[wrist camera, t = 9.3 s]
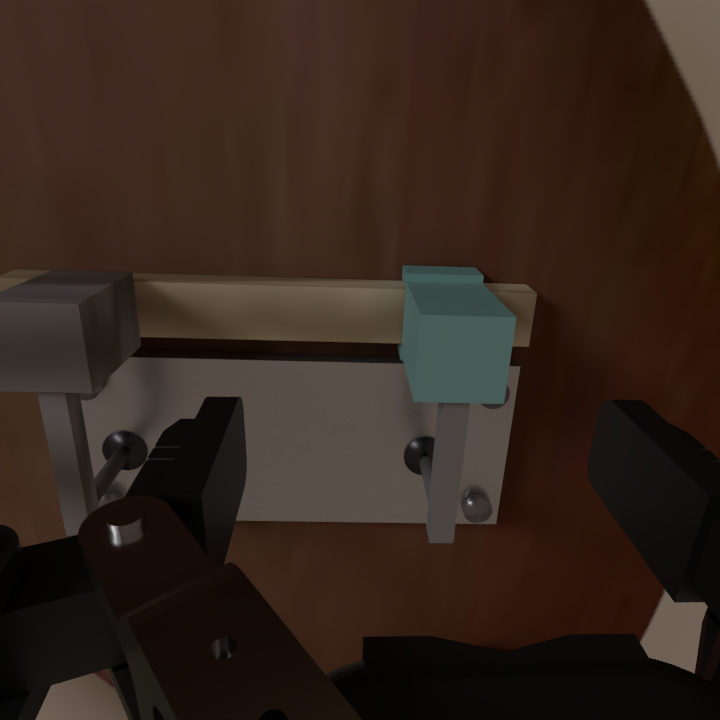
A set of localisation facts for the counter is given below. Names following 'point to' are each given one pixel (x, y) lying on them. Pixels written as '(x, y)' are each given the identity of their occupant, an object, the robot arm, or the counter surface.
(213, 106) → the counter surface
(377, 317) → the rail
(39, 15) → the counter surface
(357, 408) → the bolt plate
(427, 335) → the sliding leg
